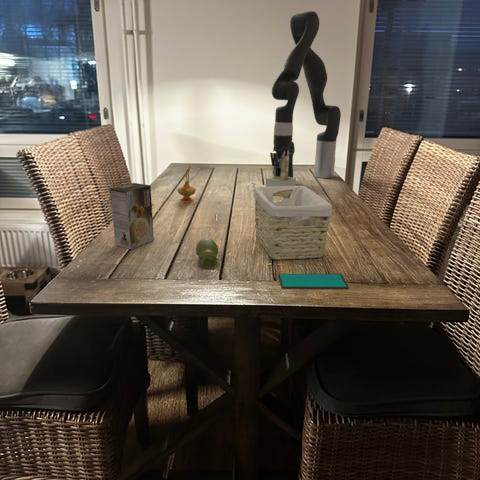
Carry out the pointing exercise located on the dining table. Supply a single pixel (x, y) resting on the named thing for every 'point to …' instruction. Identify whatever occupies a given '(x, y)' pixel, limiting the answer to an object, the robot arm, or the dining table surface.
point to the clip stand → (279, 182)
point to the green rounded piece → (207, 253)
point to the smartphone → (312, 281)
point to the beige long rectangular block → (283, 169)
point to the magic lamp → (186, 190)
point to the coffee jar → (290, 166)
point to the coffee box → (132, 215)
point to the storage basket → (291, 222)
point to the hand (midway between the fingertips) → (281, 175)
